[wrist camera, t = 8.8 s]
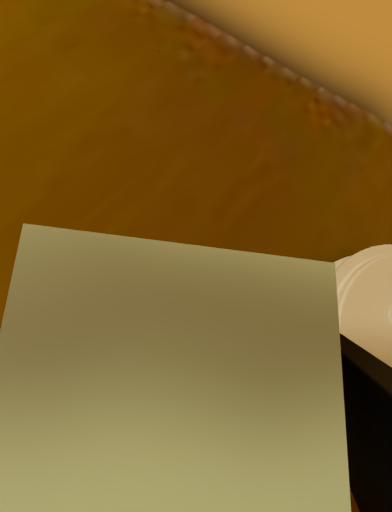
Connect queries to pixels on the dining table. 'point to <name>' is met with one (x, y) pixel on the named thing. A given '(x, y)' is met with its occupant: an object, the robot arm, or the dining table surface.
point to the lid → (367, 300)
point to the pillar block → (169, 379)
